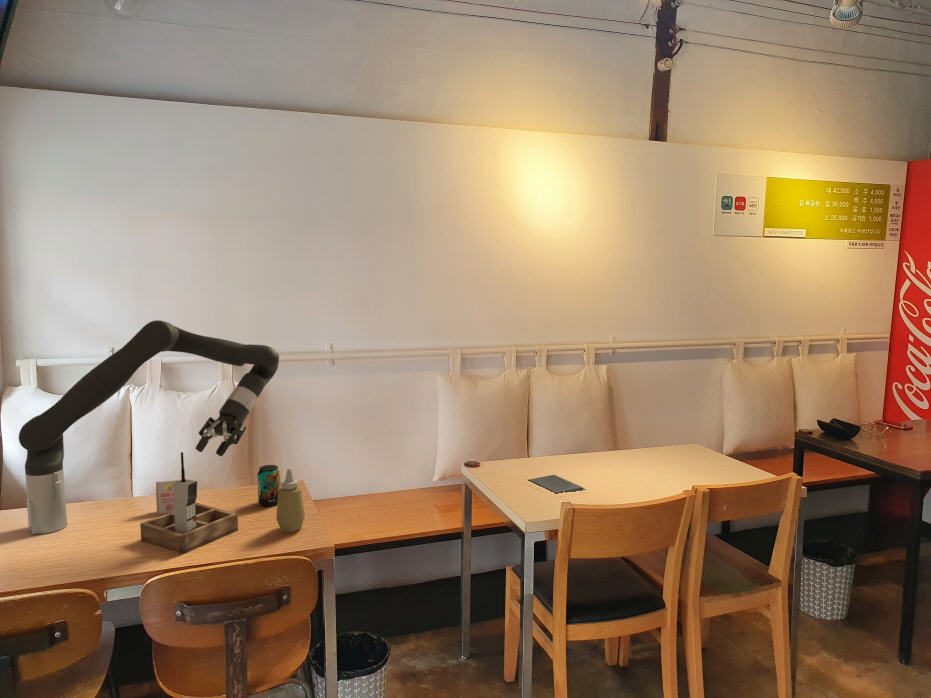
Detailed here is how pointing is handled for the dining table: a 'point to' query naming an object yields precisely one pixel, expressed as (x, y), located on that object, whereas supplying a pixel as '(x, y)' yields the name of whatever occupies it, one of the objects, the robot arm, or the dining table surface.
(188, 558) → the dining table surface
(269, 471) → the beverage can
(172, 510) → the tea bag
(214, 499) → the dining table surface
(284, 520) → the squeeze bottle
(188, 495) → the vintage mobile phone
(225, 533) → the wooden compartment tray
